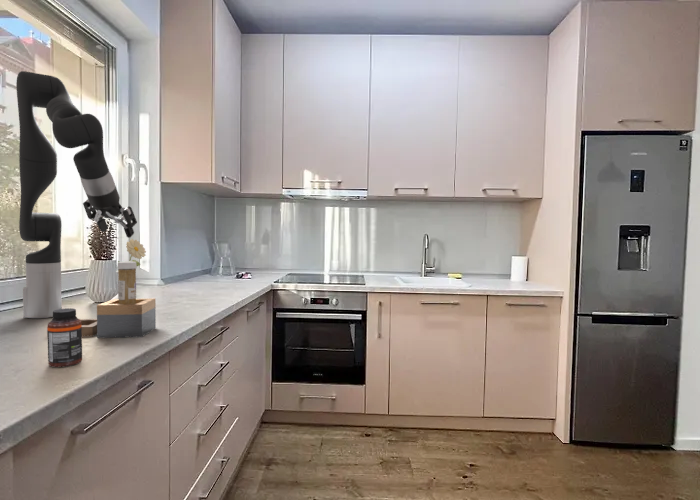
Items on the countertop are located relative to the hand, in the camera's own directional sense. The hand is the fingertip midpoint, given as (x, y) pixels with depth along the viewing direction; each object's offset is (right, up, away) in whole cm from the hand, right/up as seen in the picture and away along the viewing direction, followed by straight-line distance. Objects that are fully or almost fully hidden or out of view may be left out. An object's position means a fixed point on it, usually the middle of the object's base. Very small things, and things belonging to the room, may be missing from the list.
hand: (117, 233), depth 127 cm
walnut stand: (-5, -27, -10) cm, 30 cm away
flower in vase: (-10, -26, +24) cm, 37 cm away
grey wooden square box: (+9, -28, -11) cm, 31 cm away
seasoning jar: (+9, -22, -11) cm, 26 cm away
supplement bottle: (+10, -29, -39) cm, 49 cm away
